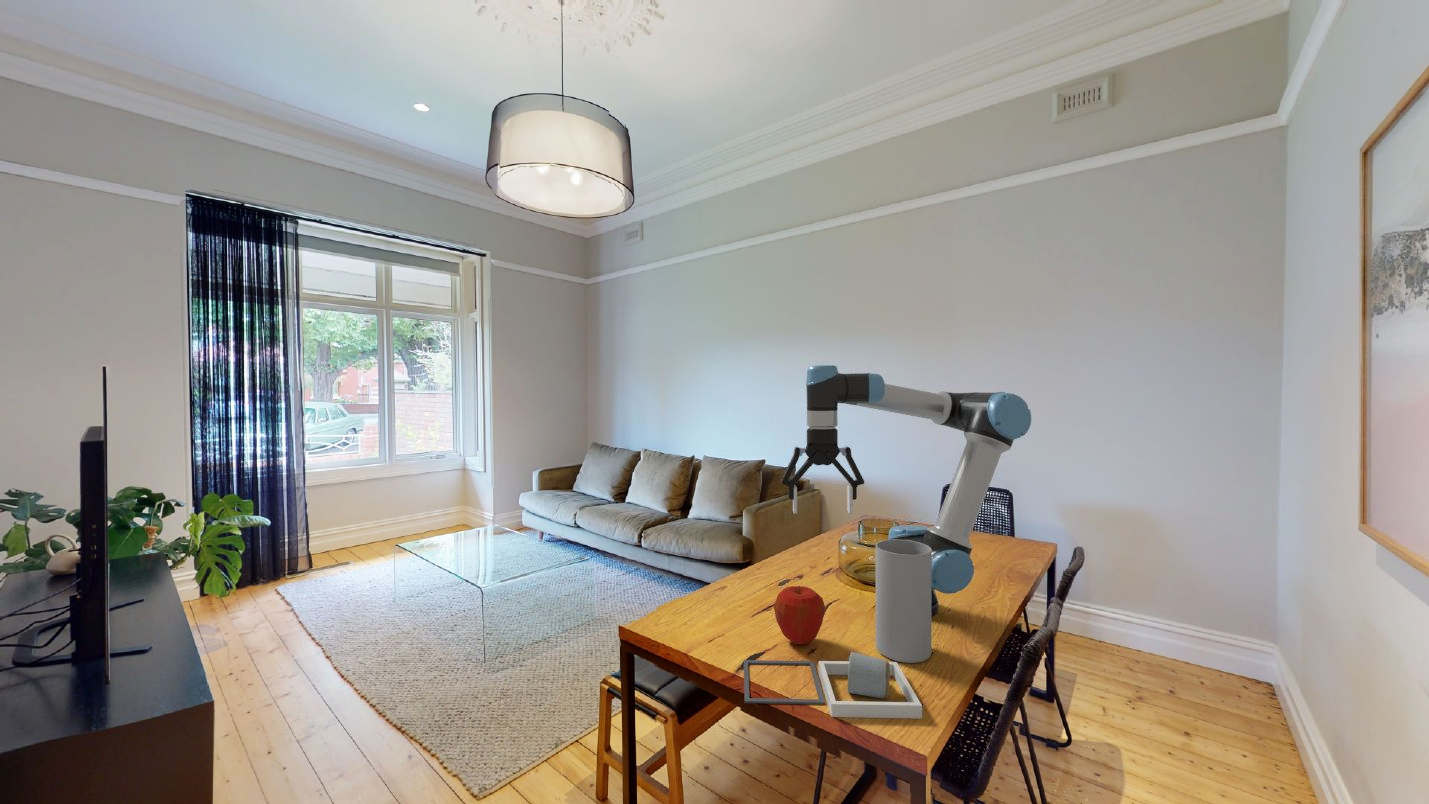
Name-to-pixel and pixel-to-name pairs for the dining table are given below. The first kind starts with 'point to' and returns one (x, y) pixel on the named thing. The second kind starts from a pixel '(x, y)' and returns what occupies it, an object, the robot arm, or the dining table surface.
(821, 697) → the tray outline
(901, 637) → the cylinder vase
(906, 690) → the socket
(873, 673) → the ceramic mug
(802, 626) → the apple
